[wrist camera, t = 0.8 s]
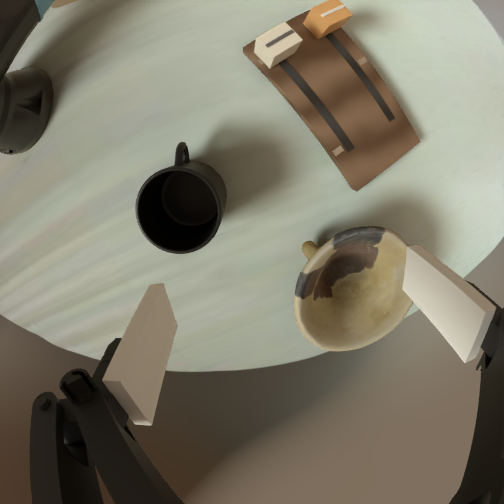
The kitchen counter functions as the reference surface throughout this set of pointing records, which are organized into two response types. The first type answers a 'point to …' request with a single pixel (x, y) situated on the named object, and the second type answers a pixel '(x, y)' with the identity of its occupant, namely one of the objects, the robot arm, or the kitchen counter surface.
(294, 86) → the console board
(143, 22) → the kitchen counter surface
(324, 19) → the orange fader knob
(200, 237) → the mug
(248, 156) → the kitchen counter surface
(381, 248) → the bowl
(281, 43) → the cream fader knob
